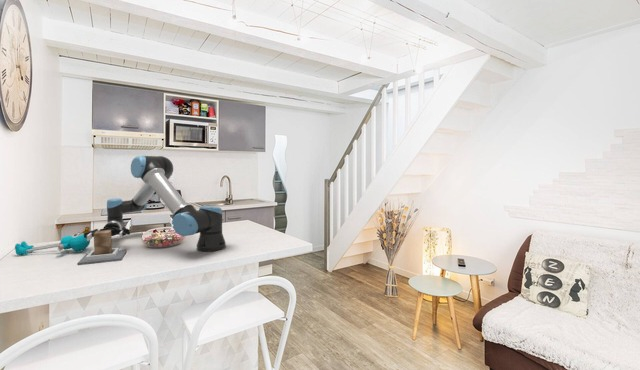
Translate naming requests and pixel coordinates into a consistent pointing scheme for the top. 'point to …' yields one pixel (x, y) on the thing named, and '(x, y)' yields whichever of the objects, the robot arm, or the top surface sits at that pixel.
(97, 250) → the brown wooden block
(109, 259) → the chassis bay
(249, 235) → the top surface
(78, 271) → the top surface
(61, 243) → the toy
